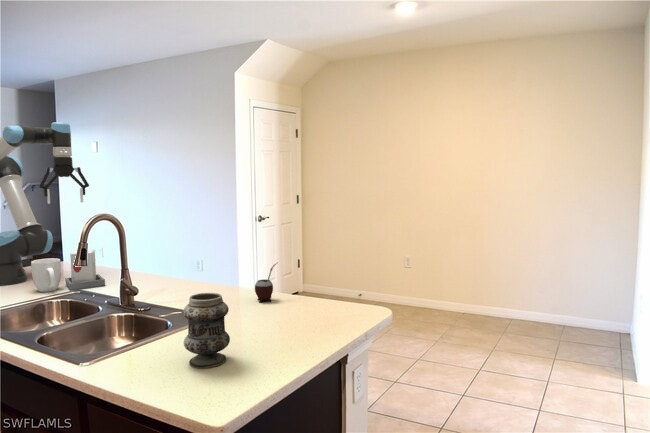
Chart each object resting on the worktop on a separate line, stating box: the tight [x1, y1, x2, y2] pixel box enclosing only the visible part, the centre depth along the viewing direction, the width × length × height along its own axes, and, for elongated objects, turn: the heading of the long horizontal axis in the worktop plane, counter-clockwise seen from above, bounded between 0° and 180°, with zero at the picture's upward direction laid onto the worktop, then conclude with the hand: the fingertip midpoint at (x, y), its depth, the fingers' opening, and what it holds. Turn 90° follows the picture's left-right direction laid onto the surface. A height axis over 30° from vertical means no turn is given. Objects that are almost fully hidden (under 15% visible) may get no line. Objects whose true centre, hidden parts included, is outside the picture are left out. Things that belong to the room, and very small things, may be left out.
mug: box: [30, 257, 62, 293], centre depth 208 cm, size 15×11×13 cm
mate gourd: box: [254, 261, 278, 304], centre depth 189 cm, size 8×8×15 cm
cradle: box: [64, 273, 106, 292], centre depth 218 cm, size 14×14×3 cm
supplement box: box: [69, 249, 97, 283], centre depth 217 cm, size 9×9×15 cm
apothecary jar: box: [182, 292, 231, 369], centre depth 130 cm, size 12×12×18 cm
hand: (65, 203), depth 224 cm, fingers open, 13 cm apart
